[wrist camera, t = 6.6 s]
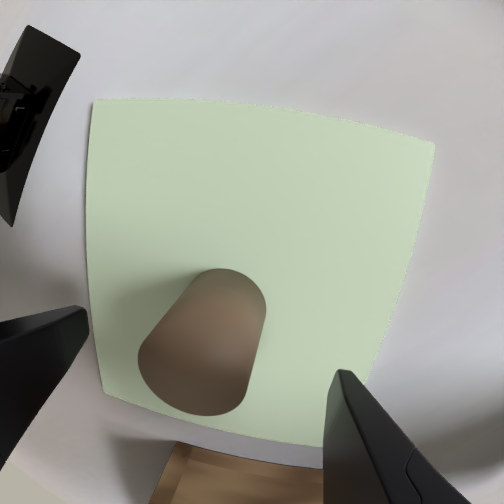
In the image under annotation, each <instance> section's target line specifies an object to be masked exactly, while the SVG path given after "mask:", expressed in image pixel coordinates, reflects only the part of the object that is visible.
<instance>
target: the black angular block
mask: <svg viewBox="0 0 504 504" xmlns="http://www.w3.org/2000/svg"><path fill="white" fill-rule="evenodd" d="M80 57H81V55H80V53H78V52H76V51H75V50H73V49H71V48H70V47H68V46H66V45H64V44H63V43H61V42H59V41H57V40H56V39H54V38H52V37H50V36H48V35H47V34H45V33H43V32H41V31H39V30H37V29H35V28H34V27H32V26H30V25H27V26H26V28H25V29H24V31H23V33H22V35H21V37H20V38H19V40H18V42H17V44H16V46H15V48H14V50H13V52H12V54H11V56H10V58H9V60H8V62H7V64H6V67H5V69H4V71H3V73H2V74H0V215H1V216H2V218H3V219H4V220H5V221H6V222H7V223H8V224H9V226H10V227H13V224H14V220H15V216H16V212H17V209H18V205H19V202H20V198H21V195H22V191H23V188H24V185H25V182H26V179H27V176H28V173H29V170H30V167H31V164H32V161H33V158H34V156H35V153H36V150H37V148H38V145H39V143H40V140H41V137H42V135H43V133H44V130H45V128H46V125H47V123H48V121H49V119H50V116H51V114H52V112H53V110H54V108H55V105H56V103H57V101H58V99H59V97H60V95H61V93H62V91H63V89H64V87H65V85H66V83H67V81H68V79H69V77H70V76H71V74H72V72H73V70H74V68H75V66H76V65H77V63H78V61H79V59H80Z"/></svg>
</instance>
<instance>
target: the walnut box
mask: <svg viewBox="0 0 504 504" xmlns="http://www.w3.org/2000/svg"><path fill="white" fill-rule="evenodd" d="M149 504H323V470H321V469H311V468H302V467H294V466H286V465H279V464H273V463H267V462H261V461H256V460H250V459H245V458H240V457H236V456H231V455H227V454H222V453H218V452H214V451H210V450H206V449H202V448H199V447H195V446H191V445H188V444H184V443H181V442H178V441H177V443H176V445H175V447H174V449H173V451H172V454H171V456H170V458H169V460H168V462H167V465H166V467H165V469H164V471H163V473H162V476H161V478H160V480H159V482H158V484H157V486H156V489H155V491H154V493H153V495H152V497H151V500H150V502H149Z"/></svg>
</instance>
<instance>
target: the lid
mask: <svg viewBox="0 0 504 504" xmlns="http://www.w3.org/2000/svg"><path fill="white" fill-rule="evenodd" d="M435 145H436V144H435V143H432V142H429V141H426V140H423V139H419V138H416V137H413V136H409V135H406V134H402V133H399V132H395V131H391V130H388V129H384V128H380V127H376V126H372V125H368V124H363V123H359V122H355V121H350V120H345V119H341V118H336V117H331V116H326V115H320V114H315V113H309V112H303V111H297V110H291V109H284V108H277V107H270V106H262V105H254V104H245V103H235V102H223V101H210V100H194V99H168V98H122V99H97V100H94V102H93V109H92V117H91V126H90V136H89V148H88V161H87V180H86V252H87V271H88V285H89V297H90V307H91V316H92V324H93V332H94V339H95V346H96V352H97V358H98V364H99V370H100V375H101V381H102V386H103V391H104V393H106V394H108V395H111V396H113V397H116V398H118V399H121V400H123V401H126V402H129V403H132V404H134V405H137V406H140V407H143V408H146V409H149V410H152V411H155V412H158V413H161V414H164V415H167V416H170V417H174V418H177V419H181V420H184V421H187V422H191V423H195V424H198V425H202V426H206V427H210V428H214V429H218V430H222V431H227V432H231V433H236V434H240V435H245V436H250V437H255V438H260V439H266V440H272V441H278V442H284V443H291V444H298V445H306V446H314V447H323V435H324V425H325V415H326V404H327V395H328V391H329V388H330V385H331V383H332V380H333V377H334V375H335V372H336V371H337V370H338V369H344V370H351V371H352V372H353V373H354V374H355V375H356V376H357V378H358V379H359V380H360V381H361V382H362V384H363V385H364V384H365V381H366V379H367V377H368V375H369V372H370V370H371V368H372V365H373V363H374V361H375V358H376V356H377V353H378V351H379V348H380V346H381V343H382V341H383V338H384V336H385V333H386V330H387V328H388V325H389V322H390V320H391V317H392V314H393V311H394V308H395V306H396V303H397V300H398V297H399V294H400V291H401V288H402V285H403V281H404V278H405V275H406V272H407V269H408V265H409V262H410V258H411V255H412V251H413V248H414V244H415V240H416V237H417V233H418V229H419V225H420V221H421V217H422V212H423V208H424V204H425V199H426V194H427V190H428V185H429V179H430V174H431V169H432V163H433V157H434V151H435Z"/></svg>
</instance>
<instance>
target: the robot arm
mask: <svg viewBox="0 0 504 504" xmlns="http://www.w3.org/2000/svg"><path fill="white" fill-rule="evenodd" d="M88 335H89V324H88V317H87V311H86V309H85V308H83V307H80V306H77V305H72V306H68V307H64V308H60V309H55V310H51V311H47V312H42V313H38V314H34V315H30V316H25V317H21V318H16V319H12V320H8V321H3V322H0V471H1V469H2V467H3V466H4V464H5V463H6V462H5V461H7V459H8V457H9V456H10V454H11V453H12V451H13V450H14V448H15V446H16V445H17V443H18V442H19V440H20V439H21V437H22V436H23V434H24V433H25V431H26V430H27V428H28V427H29V425H30V424H31V422H32V421H33V419H34V418H35V416H36V415H37V413H38V412H39V410H40V409H41V408H42V406H43V405H44V403H45V402H46V400H47V399H48V398H49V396H50V395H51V393H52V392H53V390H54V389H55V388H56V386H57V385H58V384H59V382H60V381H61V379H62V378H63V377H64V375H65V374H66V372H67V371H68V369H69V368H70V366H71V364H72V363H73V361H74V359H75V358H76V356H77V354H78V353H79V351H80V349H81V348H82V346H83V344H84V343H85V341H86V339H87V338H88ZM414 448H415V445H414V444H413V443H412V442H411V441H410V439H409V438H408V437H407V436H406V435H405V434H404V432H403V431H402V430H401V429H400V428H399V426H398V425H397V424H396V423H395V422H394V420H393V419H392V418H391V417H390V416H389V414H388V413H387V412H386V411H385V410H384V409H383V407H382V406H381V405H380V404H379V403H378V401H377V400H376V399H375V398H374V397H373V395H372V394H371V393H370V392H369V391H368V390H367V388H366V387H365V386H364V385H363V384H362V382H361V381H360V380H359V379H358V378H357V376H356V375H355V374H354V373H353V372H352V371H351V370H344V369H338V370H337V371H336V372H335V375H334V377H333V380H332V383H331V385H330V388H329V391H328V395H327V404H326V415H325V425H324V435H323V504H471V503H470V502H469V501H468V500H467V499H466V498H465V497H464V496H463V495H462V494H461V493H459V492H458V491H457V490H456V489H455V488H454V487H453V486H452V485H451V484H450V483H449V482H448V481H447V480H446V479H445V478H444V477H443V476H442V475H441V474H440V473H439V472H438V471H437V470H436V469H435V468H434V467H433V466H432V465H431V464H430V463H429V462H428V460H427V459H426V458H425V457H424V456H423V455H422V454H421V452H420V451H419V450H418V449H417V448H415V449H414Z"/></svg>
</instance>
